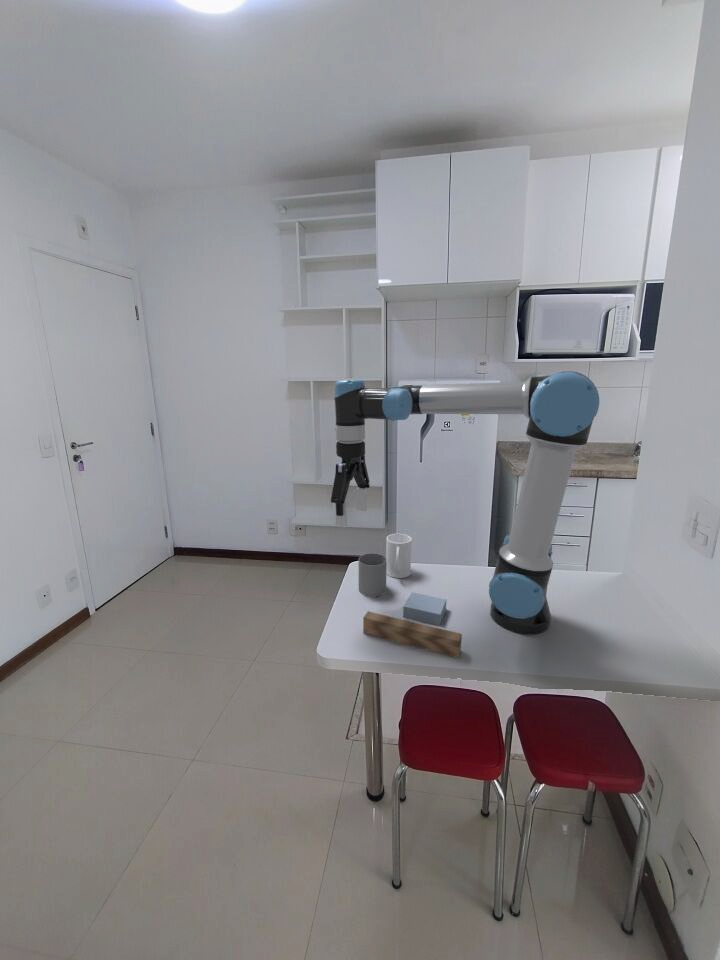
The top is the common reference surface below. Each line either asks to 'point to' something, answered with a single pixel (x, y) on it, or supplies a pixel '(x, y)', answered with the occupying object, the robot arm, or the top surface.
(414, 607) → the block
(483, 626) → the top surface
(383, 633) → the brown wooden bar
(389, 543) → the mug
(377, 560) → the cup
